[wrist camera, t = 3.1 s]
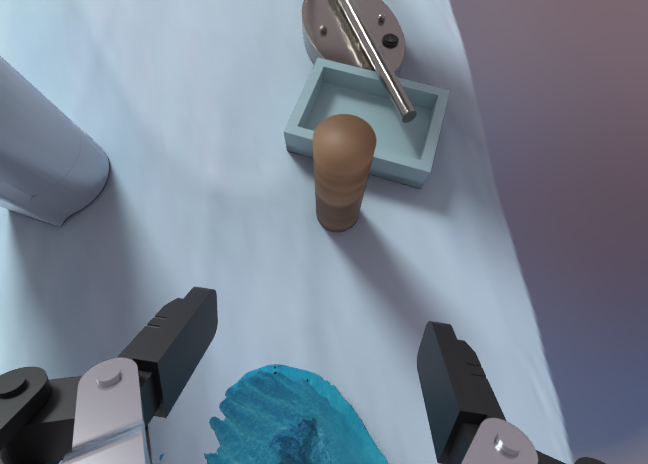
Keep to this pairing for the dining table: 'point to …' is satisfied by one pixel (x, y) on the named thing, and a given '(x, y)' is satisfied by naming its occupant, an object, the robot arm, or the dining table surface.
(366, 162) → the dowel
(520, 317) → the dining table surface
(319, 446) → the mineral
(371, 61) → the light fixture
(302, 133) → the bin
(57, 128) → the robot arm
